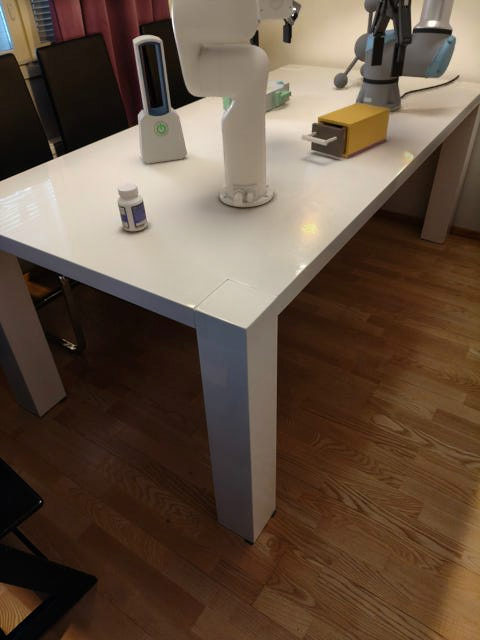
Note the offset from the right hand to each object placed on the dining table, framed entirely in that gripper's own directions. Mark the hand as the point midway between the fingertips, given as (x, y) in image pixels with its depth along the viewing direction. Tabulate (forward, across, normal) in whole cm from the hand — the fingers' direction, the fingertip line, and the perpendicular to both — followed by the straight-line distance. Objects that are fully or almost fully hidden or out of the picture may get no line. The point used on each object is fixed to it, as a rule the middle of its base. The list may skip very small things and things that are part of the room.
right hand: (385, 70), depth 124 cm
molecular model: (+20, +71, -19) cm, 76 cm away
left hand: (-6, +13, +27) cm, 31 cm away
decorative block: (+20, +54, +25) cm, 63 cm away
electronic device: (+20, +9, +59) cm, 63 cm away
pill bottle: (+20, -33, +66) cm, 76 cm away
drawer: (+19, +1, +11) cm, 22 cm away
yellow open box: (+20, +5, +6) cm, 21 cm away
